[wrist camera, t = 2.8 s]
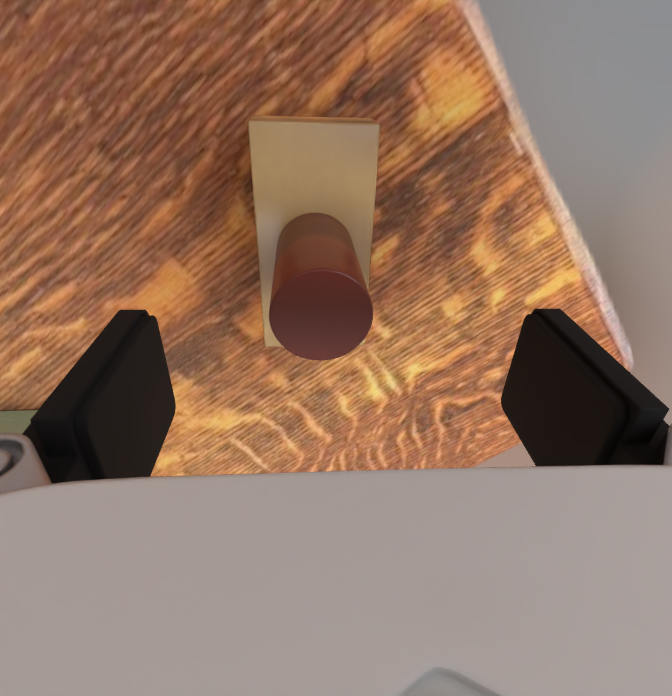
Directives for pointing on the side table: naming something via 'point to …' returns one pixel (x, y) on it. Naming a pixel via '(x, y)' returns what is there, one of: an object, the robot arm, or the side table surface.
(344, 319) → the stamp
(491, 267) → the side table surface
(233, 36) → the side table surface
